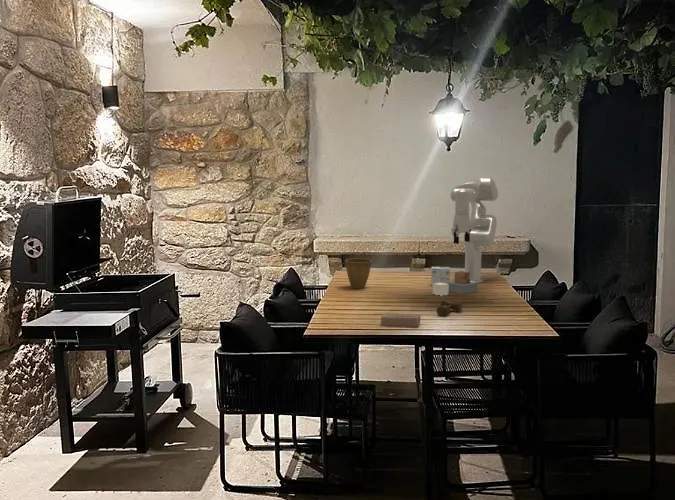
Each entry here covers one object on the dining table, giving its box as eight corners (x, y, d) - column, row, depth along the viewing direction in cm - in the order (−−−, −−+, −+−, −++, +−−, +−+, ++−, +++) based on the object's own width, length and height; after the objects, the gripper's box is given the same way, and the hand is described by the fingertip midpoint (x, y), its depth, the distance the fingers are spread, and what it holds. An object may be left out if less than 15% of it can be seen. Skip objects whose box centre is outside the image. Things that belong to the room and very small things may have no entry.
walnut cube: (461, 281, 363) (461, 271, 362) (469, 283, 358) (470, 272, 358) (454, 282, 359) (454, 272, 358) (463, 284, 354) (463, 273, 354)
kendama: (431, 316, 300) (446, 307, 317) (451, 319, 295) (465, 310, 312) (431, 304, 299) (446, 295, 316) (451, 306, 294) (465, 298, 311)
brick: (380, 326, 280) (380, 315, 279) (383, 321, 288) (383, 311, 287) (418, 328, 276) (418, 317, 275) (420, 324, 284) (420, 313, 284)
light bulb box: (449, 284, 379) (449, 266, 378) (449, 286, 372) (450, 268, 371) (430, 284, 380) (431, 266, 379) (431, 286, 373) (431, 268, 372)
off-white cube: (439, 293, 353) (440, 282, 352) (448, 294, 349) (448, 283, 348) (432, 294, 349) (432, 283, 349) (441, 296, 345) (441, 285, 344)
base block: (461, 289, 367) (462, 280, 367) (477, 292, 357) (477, 283, 357) (446, 291, 361) (446, 282, 360) (461, 294, 351) (461, 285, 350)
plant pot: (341, 289, 364) (341, 261, 362) (350, 284, 377) (350, 257, 375) (366, 291, 358) (366, 262, 356) (374, 286, 372) (375, 259, 370)
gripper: (466, 210, 366) (465, 240, 369) (446, 212, 355) (446, 243, 358) (477, 211, 361) (476, 241, 364) (457, 213, 350) (457, 245, 352)
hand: (461, 242), depth 361 cm, fingers open, 9 cm apart
